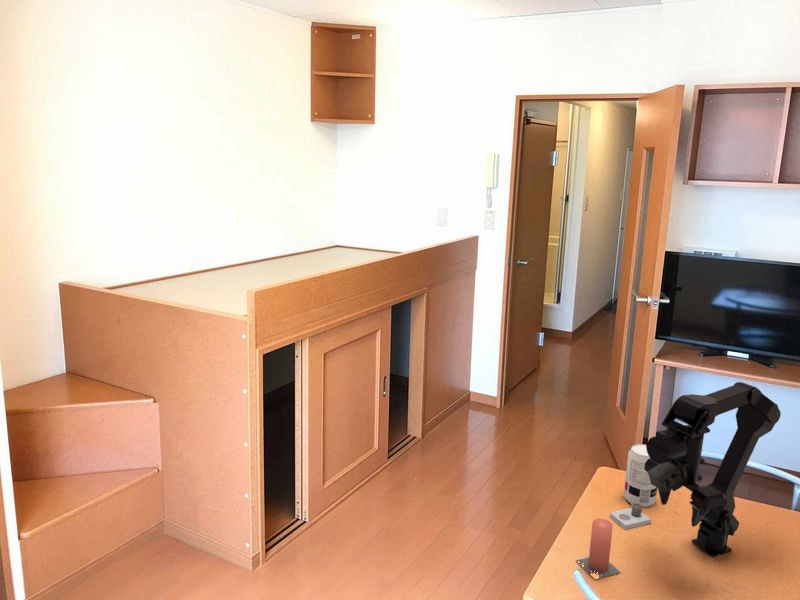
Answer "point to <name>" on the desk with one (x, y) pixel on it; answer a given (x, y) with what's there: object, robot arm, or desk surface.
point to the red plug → (600, 545)
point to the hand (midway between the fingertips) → (678, 514)
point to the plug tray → (630, 517)
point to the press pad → (609, 572)
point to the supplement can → (638, 478)
